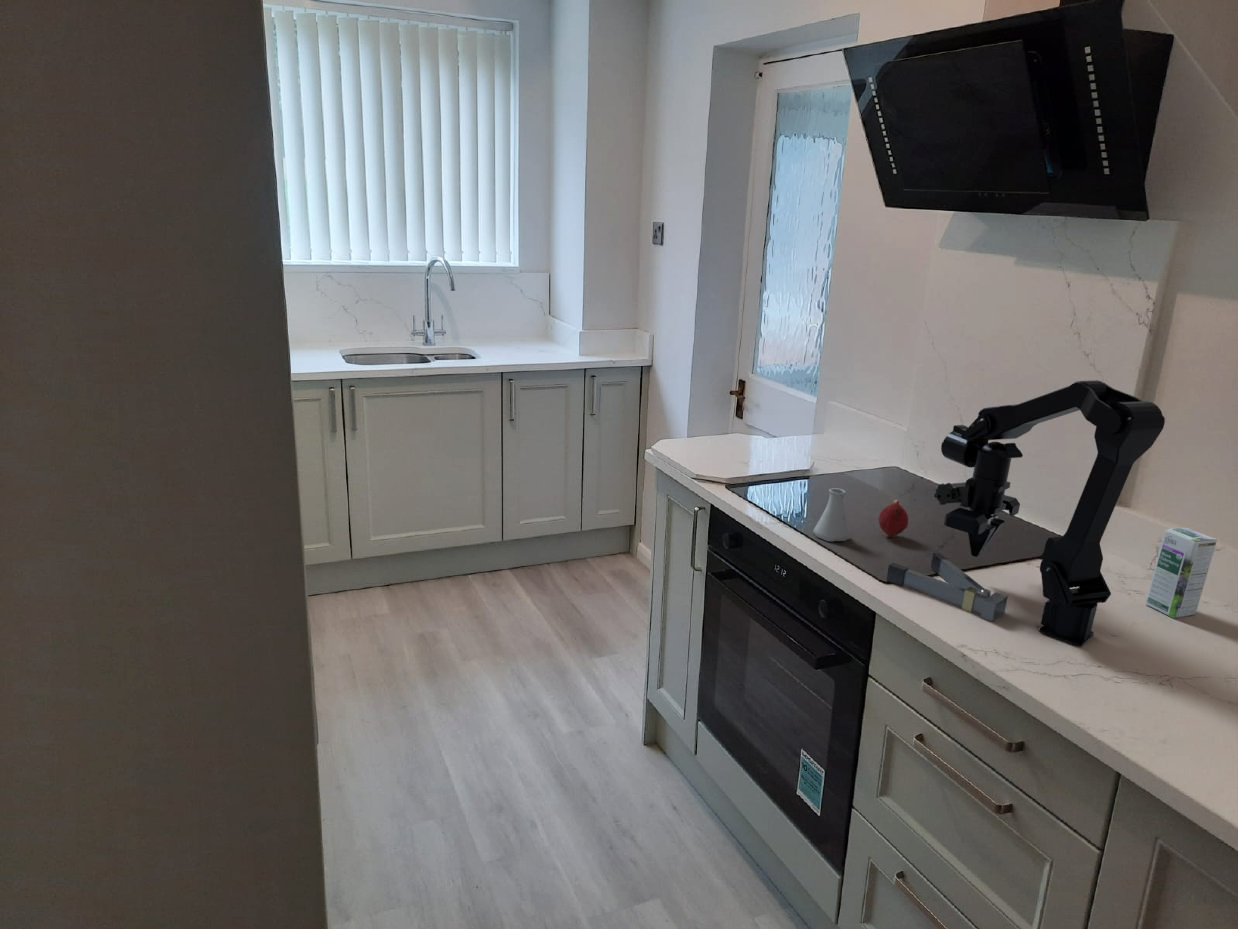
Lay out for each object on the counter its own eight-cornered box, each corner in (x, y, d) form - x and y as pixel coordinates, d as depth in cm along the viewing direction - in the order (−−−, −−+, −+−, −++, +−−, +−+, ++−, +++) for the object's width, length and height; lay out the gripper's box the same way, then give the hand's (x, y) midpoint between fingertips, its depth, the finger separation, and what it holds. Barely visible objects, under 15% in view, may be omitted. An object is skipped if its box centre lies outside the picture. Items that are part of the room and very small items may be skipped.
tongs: (1004, 612, 145) (1008, 593, 144) (992, 622, 141) (996, 602, 140) (898, 574, 158) (901, 556, 157) (884, 581, 155) (887, 563, 154)
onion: (906, 543, 173) (912, 506, 171) (877, 540, 174) (883, 503, 172) (903, 533, 179) (909, 497, 176) (875, 530, 180) (880, 494, 177)
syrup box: (1143, 604, 151) (1163, 528, 147) (1167, 600, 153) (1187, 525, 149) (1173, 619, 146) (1194, 541, 142) (1197, 615, 148) (1219, 538, 144)
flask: (856, 541, 173) (863, 495, 170) (826, 544, 170) (833, 497, 167) (835, 528, 180) (841, 483, 176) (806, 531, 177) (812, 486, 174)
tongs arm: (990, 609, 145) (993, 592, 144) (980, 610, 145) (984, 593, 144) (938, 567, 162) (941, 552, 161) (929, 567, 161) (932, 552, 160)
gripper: (969, 456, 164) (955, 531, 169) (923, 473, 151) (910, 554, 156) (1027, 470, 156) (1012, 548, 161) (985, 490, 144) (969, 574, 148)
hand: (974, 555), depth 157 cm, fingers closed
